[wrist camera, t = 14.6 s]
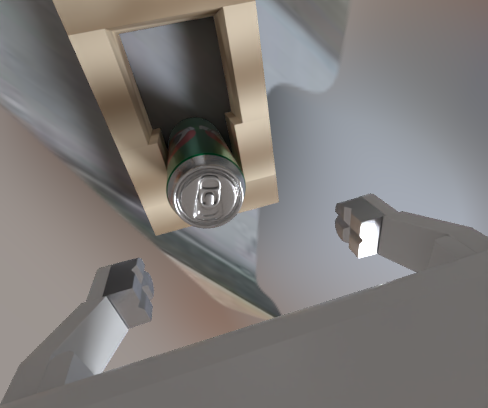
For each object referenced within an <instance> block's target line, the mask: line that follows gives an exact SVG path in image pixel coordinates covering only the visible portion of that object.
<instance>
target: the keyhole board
mask: <svg viewBox="0 0 488 408" xmlns="http://www.w3.org/2000/svg"><path fill="white" fill-rule="evenodd" d="M53 3H54V5H55V7H56V10H57V12H58V14H59V16H60V19H61V21H62V23H63V25H64V28H65V30H66V32H67V35H68V37H69V39H70V41H71V44H72V46H73V48H74V50H75V53H76V55H77V57H78V60H79V62H80V64H81V66H82V69H83V71H84V73H85V75H86V78H87V80H88V82H89V85H90V87H91V89H92V91H93V94H94V96H95V98H96V100H97V103H98V105H99V107H100V110H101V112H102V114H103V116H104V119H105V121H106V123H107V125H108V128H109V130H110V132H111V135H112V137H113V139H114V141H115V144H116V146H117V148H118V150H119V153H120V155H121V157H122V160H123V162H124V164H125V166H126V169H127V171H128V173H129V175H130V178H131V180H132V182H133V184H134V187H135V189H136V191H137V194H138V196H139V198H140V200H141V203H142V205H143V207H144V209H145V212H146V214H147V216H148V219H149V221H150V223H151V225H152V228H153V230H154V232H155V234H156V235H160V234H164V233H167V232H171V231H175V230H178V229H182V228H186V227H189V226H192V225H189V224H187V223H186V222H184V221H183V220H182V219H181V218H180V217H179V216H178V215H177V214H176V213H175V212H174V210H173V209H172V208H171V206H170V204H169V202H168V199H167V194H166V183H167V166H168V150H167V147H166V144H165V141H164V138H163V135H162V132H161V129H160V128H157V129H152V127H151V124H150V121H149V118H148V115H147V112H146V110H145V107H144V104H143V101H142V98H141V95H140V93H139V90H138V87H137V84H136V81H135V78H134V76H133V73H132V70H131V67H130V64H129V61H128V59H127V56H126V53H125V50H124V47H123V44H122V42H121V39H120V36H119V34H121V33H126V32H131V31H137V30H142V29H147V28H153V27H158V26H163V25H169V24H174V23H179V22H185V21H190V20H195V19H200V18H206V17H211V16H213V17H214V22H215V27H216V33H217V38H218V43H219V48H220V54H221V59H222V64H223V70H224V75H225V80H226V86H227V91H228V96H229V101H230V107H231V112H227V113H224V114H225V119H226V124H227V129H228V134H229V138H230V143H231V148H232V153H233V157H234V159H235V161H236V162H237V164H238V166H239V168H240V169H241V171H242V173H243V175H244V178H245V183H246V192H245V196H244V199H243V203H242V206H241V208H240V210H239V212H238V213H241V212H244V211H248V210H252V209H255V208H259V207H263V206H266V205H270V204H274V203H277V202H279V198H278V190H277V181H276V173H275V164H274V156H273V147H272V139H271V131H270V122H269V114H268V105H267V96H266V87H265V79H264V70H263V62H262V53H261V45H260V36H259V28H258V19H257V11H256V2H255V0H53Z"/></svg>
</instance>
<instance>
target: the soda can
mask: <svg viewBox="0 0 488 408" xmlns="http://www.w3.org/2000/svg"><path fill="white" fill-rule="evenodd" d="M245 192H246V183H245V178H244V175H243V173H242V171H241V169H240V168H239V166H238V164H237V162H236V161H235V159H234V157H233V155H232V154H231V152H230V150H229V149H228V147H227V145H226V143H225V142H224V140H223V138H222V136H221V135H220V133H219V131H218V129H217V128H216V127H215V126H214V125H213V124H212V123H211V122H209V121H207V120H205V119H202V118H197V117H194V118H187V119H185V120H182V121H181V122H179V123H178V124H177V125H176V126H175V127H174V128H173V130H172V132H171V134H170V137H169V148H168V166H167V183H166V194H167V199H168V202H169V204H170V206H171V208H172V209H173V210H174V212H175V213H176V214H177V215H178V216H179V217H180V218H181V219H182V220H183V221H184V222H186V223H187V224H189V225H192V226H194V227H198V228H215V227H219V226H221V225H224V224H226V223H227V222H229V221H230V220H232V219H233V218H234V217H235V216H236V215H237V213H238V212H239V210H240V208H241V206H242V203H243V199H244V196H245Z"/></svg>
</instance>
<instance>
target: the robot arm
mask: <svg viewBox="0 0 488 408" xmlns="http://www.w3.org/2000/svg"><path fill="white" fill-rule="evenodd" d="M335 212H336V213H337V214H338V217H337V218H336V220H335V228H336V231H337V234H338V236H339V237H340V238H341V239H342V241H344V242H347V243H349V249H350V250H351V251H352V252H353V253H354V254H355V255H356V257H357V258H362V257H365V256H369V255H373V254H376V253H378V254H379V255H381V256H383V257H385V258H387V259H389V260H391V261H394V262H396V263H398V264H400V265H402V266H404V267H406V268H408V269H410V270H413V271H415V272H417V273H414V274H411V275H408V276H405V277H402V278H399V279H396V280H393V281H389V282H386V283H383V284H380V285H377V286H374V287H371V288H367V289H364V290H361V291H358V292H355V293H352V294H349V295H345V296H342V297H339V298H336V299H332V300H329V301H326V302H323V303H320V304H317V305H314V306H310V307H307V308H304V309H301V310H298V311H295V312H292V313H288V314H285V315H282V316H279V317H276V318H273V319H270V320H266V321H263V322H260V323H257V324H254V325H251V326H248V327H245V328H241V329H238V330H235V331H232V332H229V333H226V334H223V335H219V336H216V337H213V338H210V339H207V340H203V341H200V342H197V343H194V344H191V345H188V346H185V347H182V348H178V349H175V350H172V351H169V352H166V353H163V354H160V355H156V356H153V357H150V358H147V359H144V360H141V361H138V362H134V363H131V364H128V365H125V366H122V367H119V368H116V369H112V370H109V371H106V372H103V370H104V369H105V367H106V365H107V364H108V362H109V360H110V359H111V357H112V356H113V354H114V353H115V351H116V349H117V348H118V346H119V344H120V343H121V341H122V340H123V338H124V336H125V335H126V333H127V332H128V329H129V328H132V327H135V326H138V325H140V324H144V323H147V322H150V321H151V319H152V308H153V306H152V304H151V302H150V300H151V299H152V298H153V294H154V288H153V282H152V279H151V276H150V275H149V273H148V272H146V271H144V267H145V264H144V263H143V261H142V259H140V258H136V259H132V260H128V261H124V262H120V263H116V264H113V265H108V266H105V267H101V268H99V269H98V270H97V272H96V274H95V277H94V280H93V283H92V286H91V289H90V292H89V295H88V297H87V300H86V302H84V303H81V304H80V305H79V306H78V307H77V308H76V309H75V310H74V311H73V312H72V313H71V314H70V315H69V316H68V317H67V318H66V319H65V320H64V321H63V322H62V323H61V324H60V325H59V326H58V327H57V328H56V329H55V330H54V331H53V332H52V333H51V334H50V335H49V336H48V337H47V338H46V339H45V340H44V341H43V342H42V343H41V344H40V345H39V346H38V347H37V348H36V349H35V350H34V351H33V352H32V353H31V354H30V355H29V356H28V357H27V358H26V359H25V360H24V361H23V362H22V363H21V364H20V365H19V367H18V369H17V371H16V373H15V375H14V377H13V379H12V382H11V383H10V385H9V388H8V390H7V392H6V394H5V396H4V398H3V400H2V402H1V404H0V408H488V237H487V236H485V235H483V234H482V233H480V232H478V231H477V230H475V229H473V228H471V227H467V226H463V225H459V224H455V223H450V222H446V221H442V220H437V219H433V218H429V217H425V216H421V215H416V214H412V213H408V212H403V211H401V212H398V211H396V210H395V209H394V208H392V207H391V206H389V205H388V204H387V203H385V202H384V201H382V200H381V199H380V198H378V197H377V196H375V195H374V194H371V193H370V194H367V195H363V196H360V197H358V198H354V199H351V200H347V201H344V202H340V203H337V205H336V209H335ZM102 372H103V373H102Z"/></svg>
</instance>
